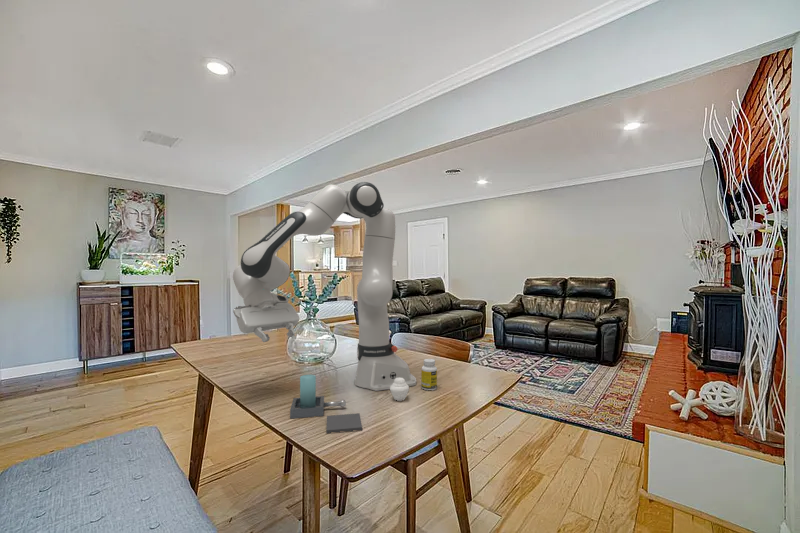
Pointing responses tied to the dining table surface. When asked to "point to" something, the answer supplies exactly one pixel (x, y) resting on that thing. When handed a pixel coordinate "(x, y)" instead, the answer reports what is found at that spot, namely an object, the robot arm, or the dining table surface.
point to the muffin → (399, 389)
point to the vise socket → (312, 408)
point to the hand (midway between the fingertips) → (279, 338)
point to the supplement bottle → (429, 375)
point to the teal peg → (308, 391)
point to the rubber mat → (343, 423)
